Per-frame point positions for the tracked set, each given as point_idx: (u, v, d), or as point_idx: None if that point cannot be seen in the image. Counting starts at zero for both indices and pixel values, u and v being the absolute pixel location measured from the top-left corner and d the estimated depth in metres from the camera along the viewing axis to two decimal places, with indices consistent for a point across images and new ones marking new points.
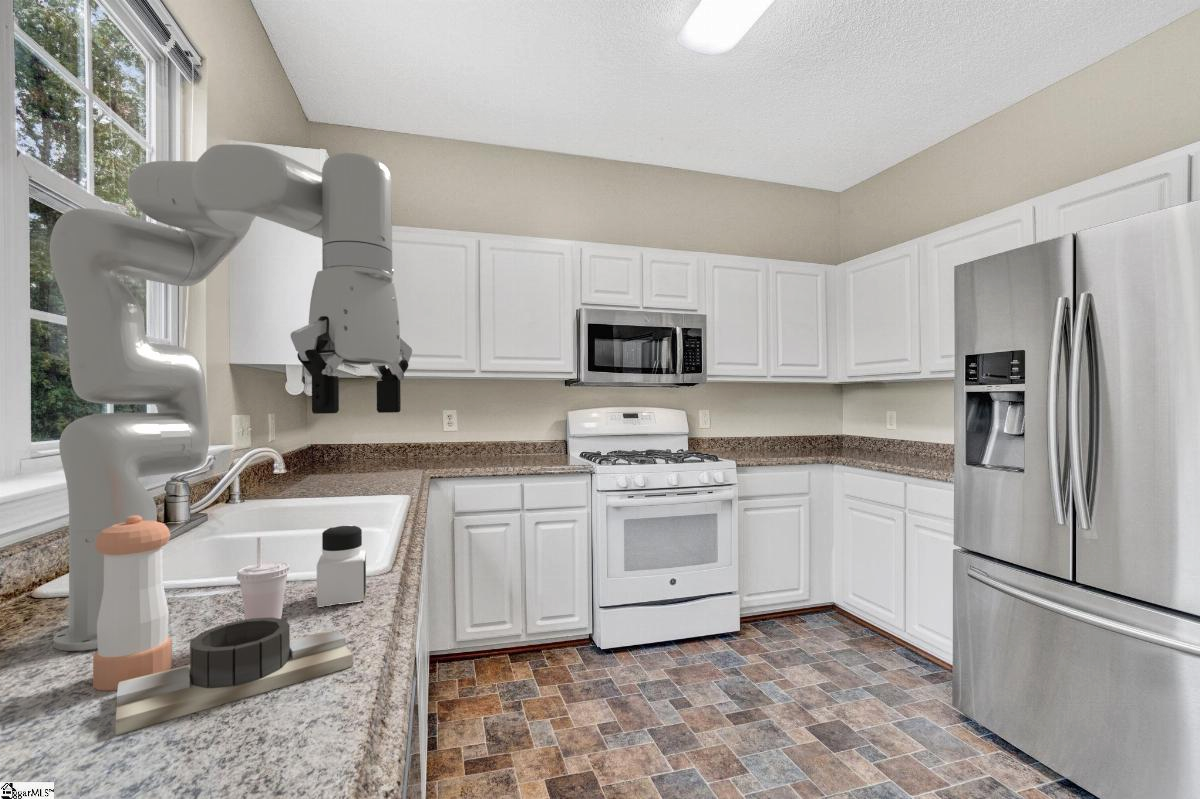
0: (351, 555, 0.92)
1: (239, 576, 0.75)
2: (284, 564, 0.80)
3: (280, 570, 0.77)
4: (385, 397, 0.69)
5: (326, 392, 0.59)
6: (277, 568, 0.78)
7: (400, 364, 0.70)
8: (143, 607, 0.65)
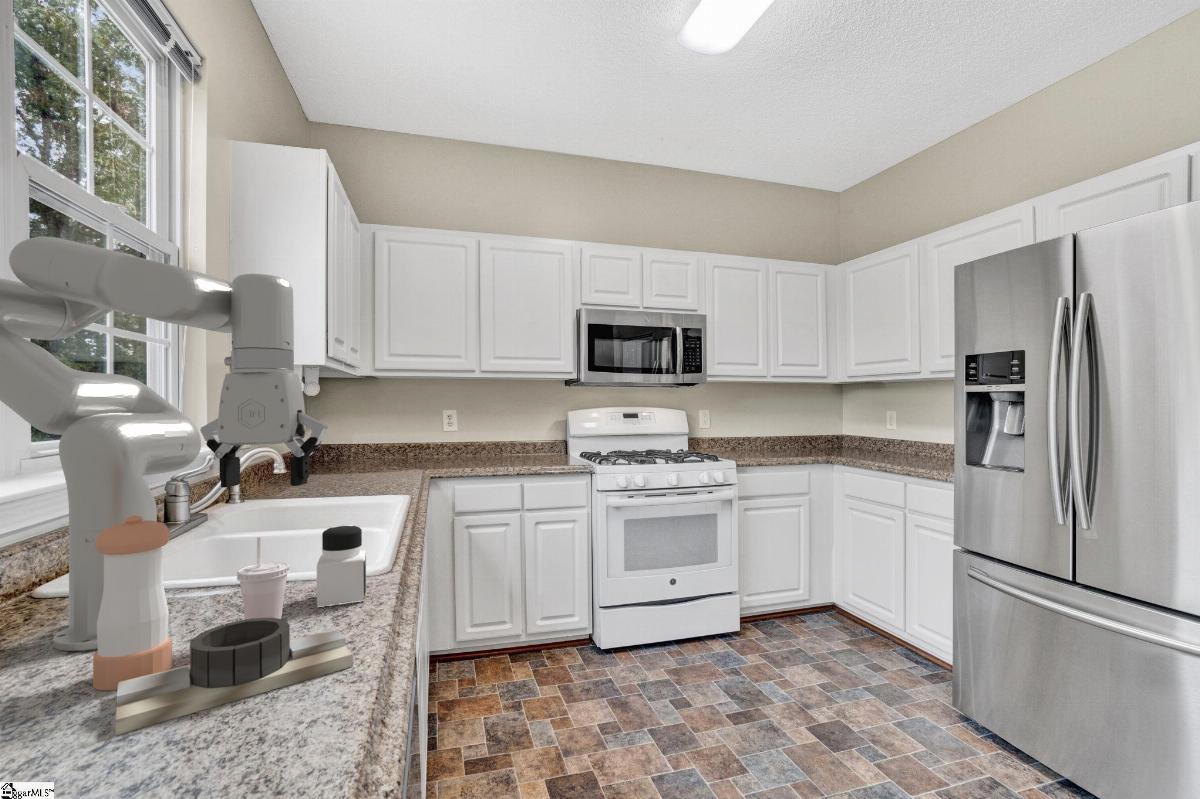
0: (351, 555, 0.92)
1: (239, 576, 0.75)
2: (284, 564, 0.80)
3: (280, 570, 0.77)
4: (233, 472, 0.78)
5: None
6: (277, 568, 0.78)
7: None
8: (143, 607, 0.65)
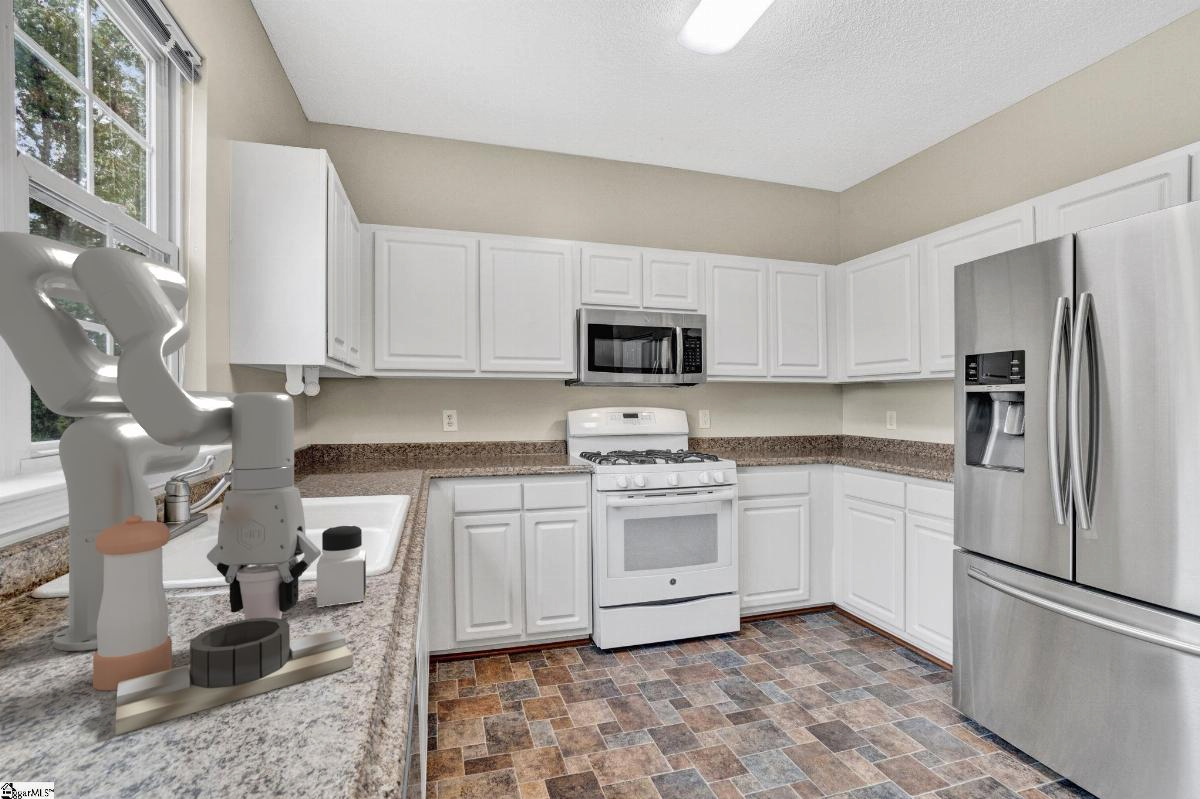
0: (351, 555, 0.92)
1: (238, 576, 0.75)
2: None
3: (279, 570, 0.77)
4: None
5: None
6: (276, 568, 0.78)
7: None
8: (143, 607, 0.65)
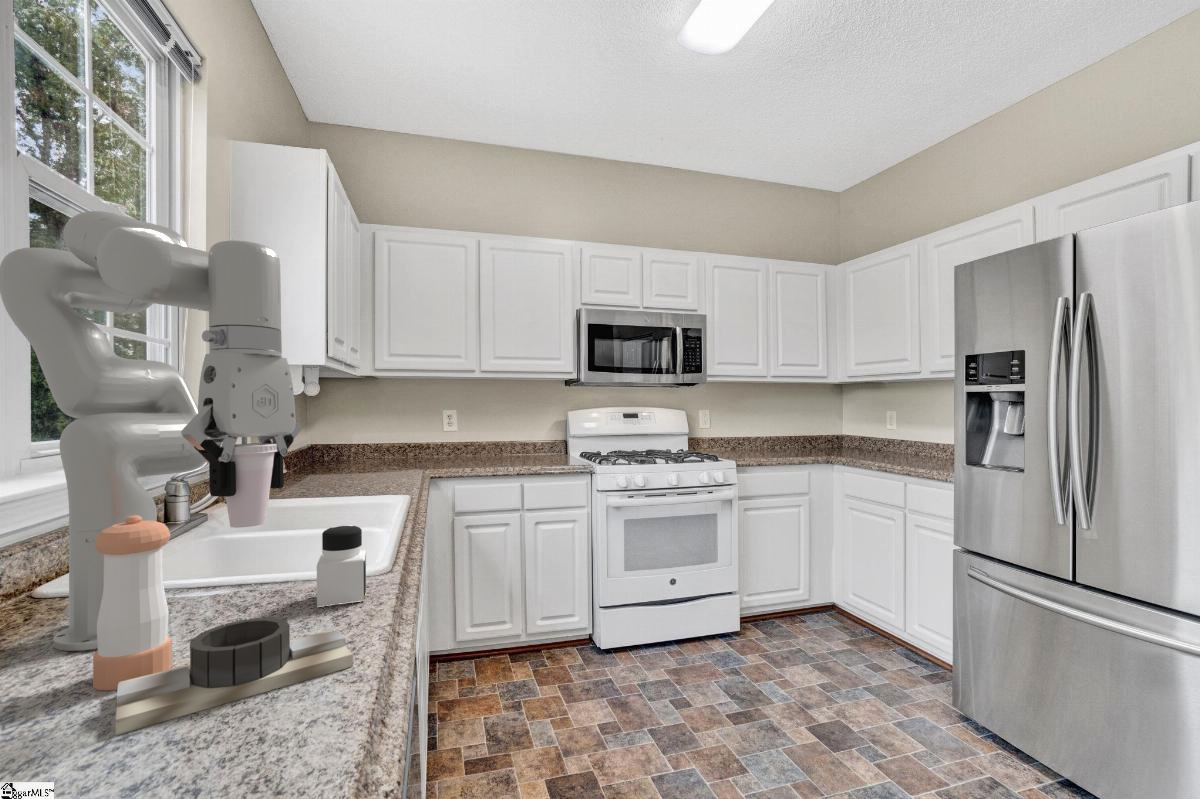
0: (351, 555, 0.92)
1: (250, 449, 0.65)
2: None
3: None
4: None
5: None
6: (262, 444, 0.70)
7: None
8: (143, 607, 0.65)
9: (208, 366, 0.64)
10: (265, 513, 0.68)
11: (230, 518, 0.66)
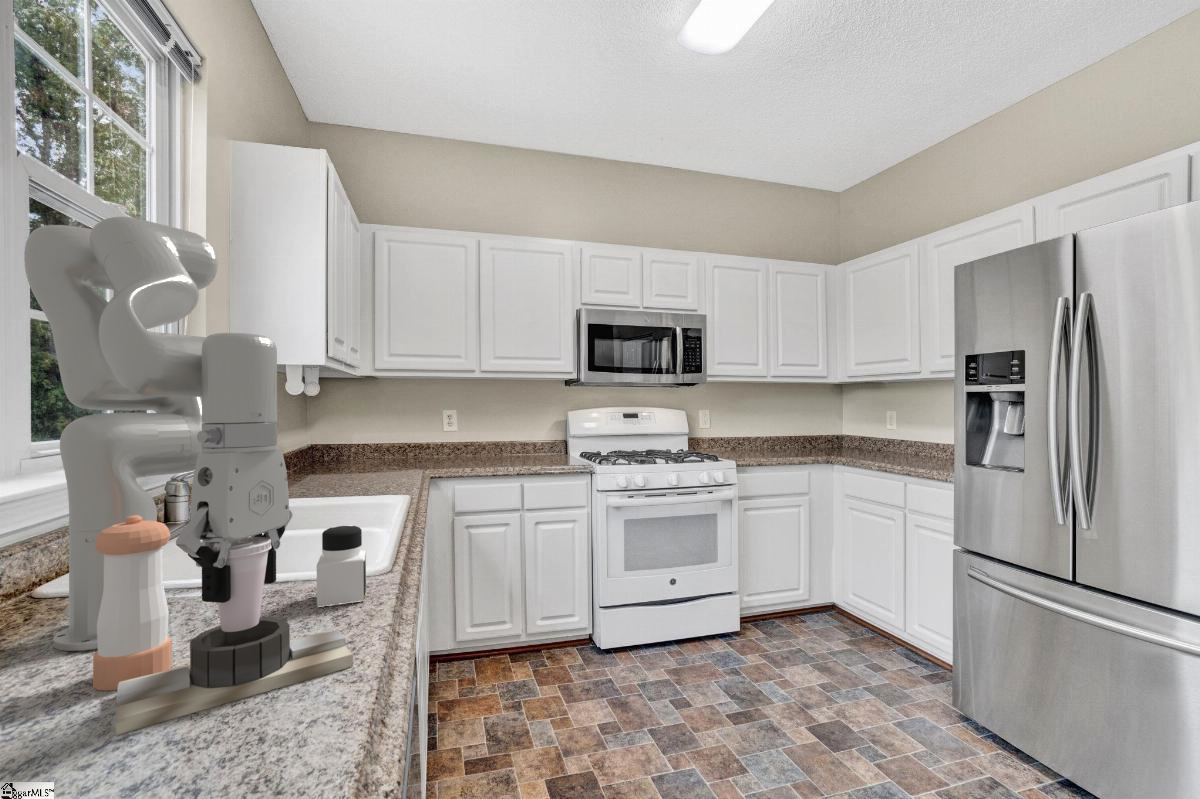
0: (351, 555, 0.92)
1: (246, 551, 0.63)
2: None
3: None
4: None
5: None
6: (254, 539, 0.67)
7: None
8: (143, 607, 0.65)
9: (203, 467, 0.61)
10: (259, 613, 0.66)
11: (222, 622, 0.63)
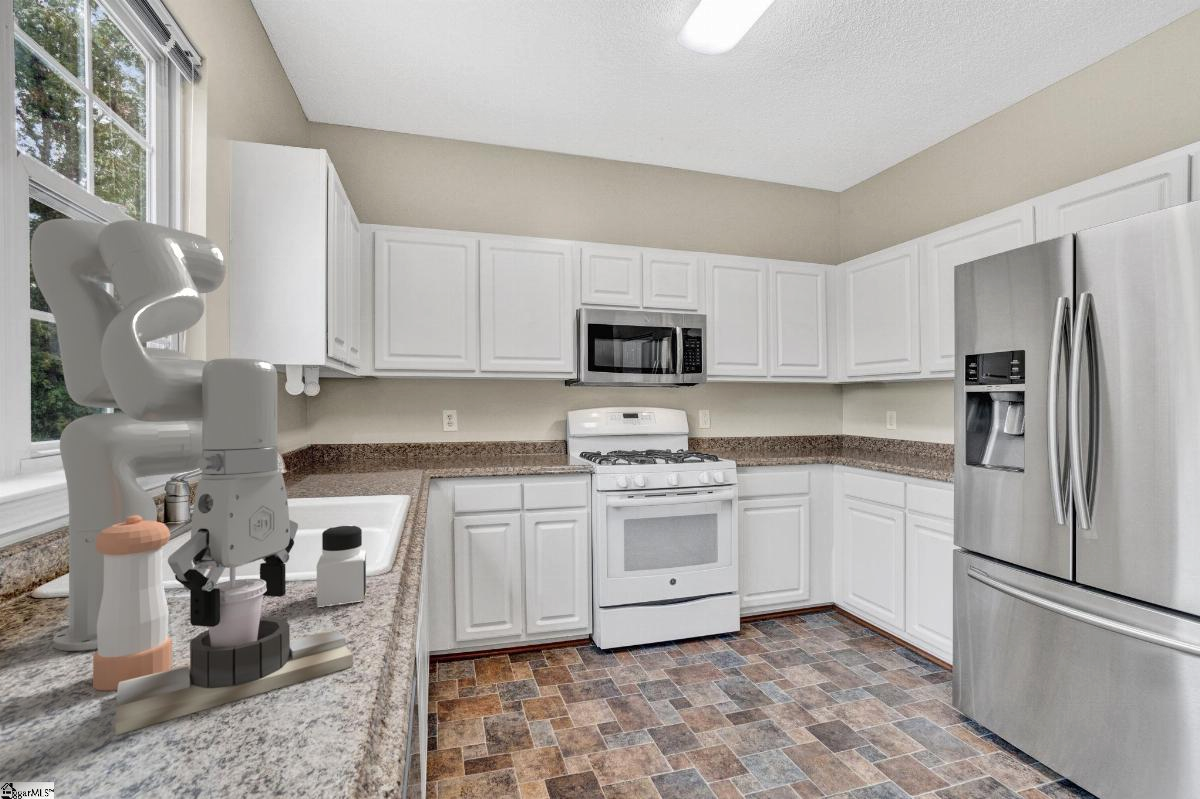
0: (351, 555, 0.92)
1: (240, 596, 0.62)
2: None
3: None
4: None
5: None
6: (249, 581, 0.66)
7: None
8: (143, 607, 0.65)
9: (203, 494, 0.61)
10: None
11: None
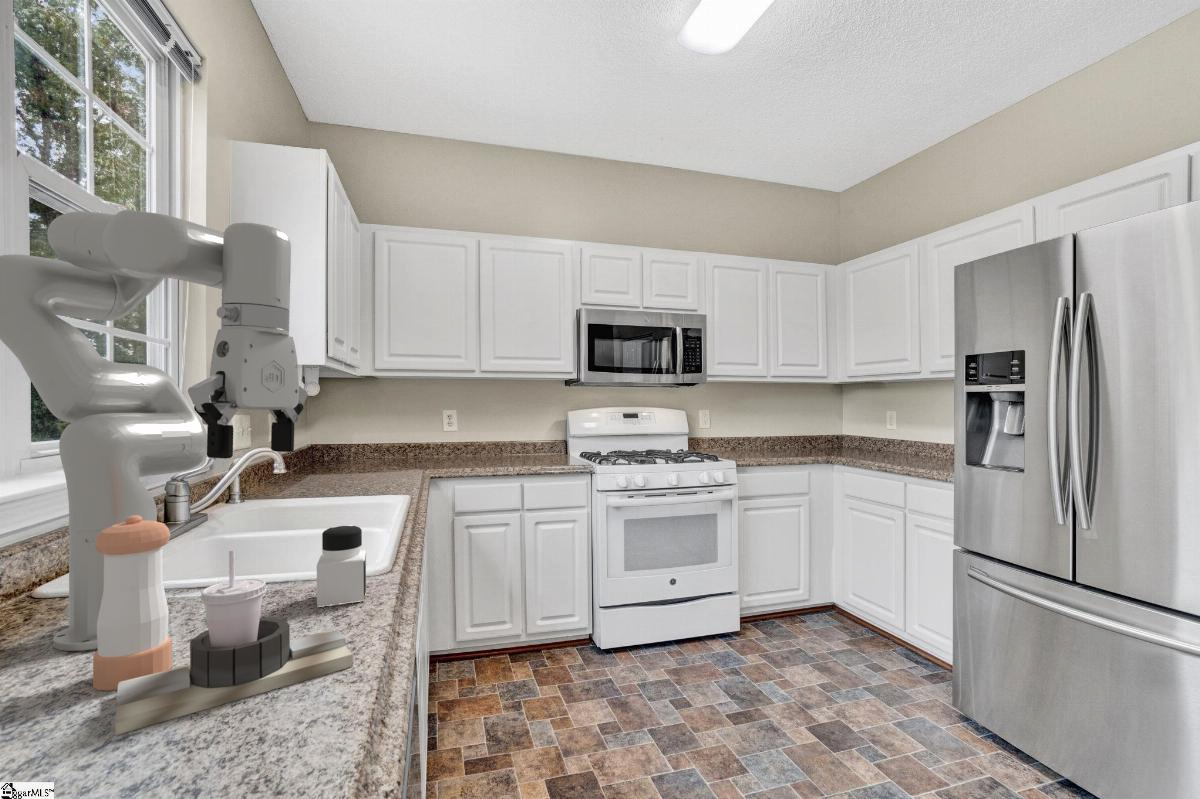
0: (351, 555, 0.92)
1: (240, 596, 0.62)
2: None
3: None
4: None
5: None
6: (249, 581, 0.66)
7: None
8: (143, 607, 0.65)
9: (221, 341, 0.68)
10: None
11: None
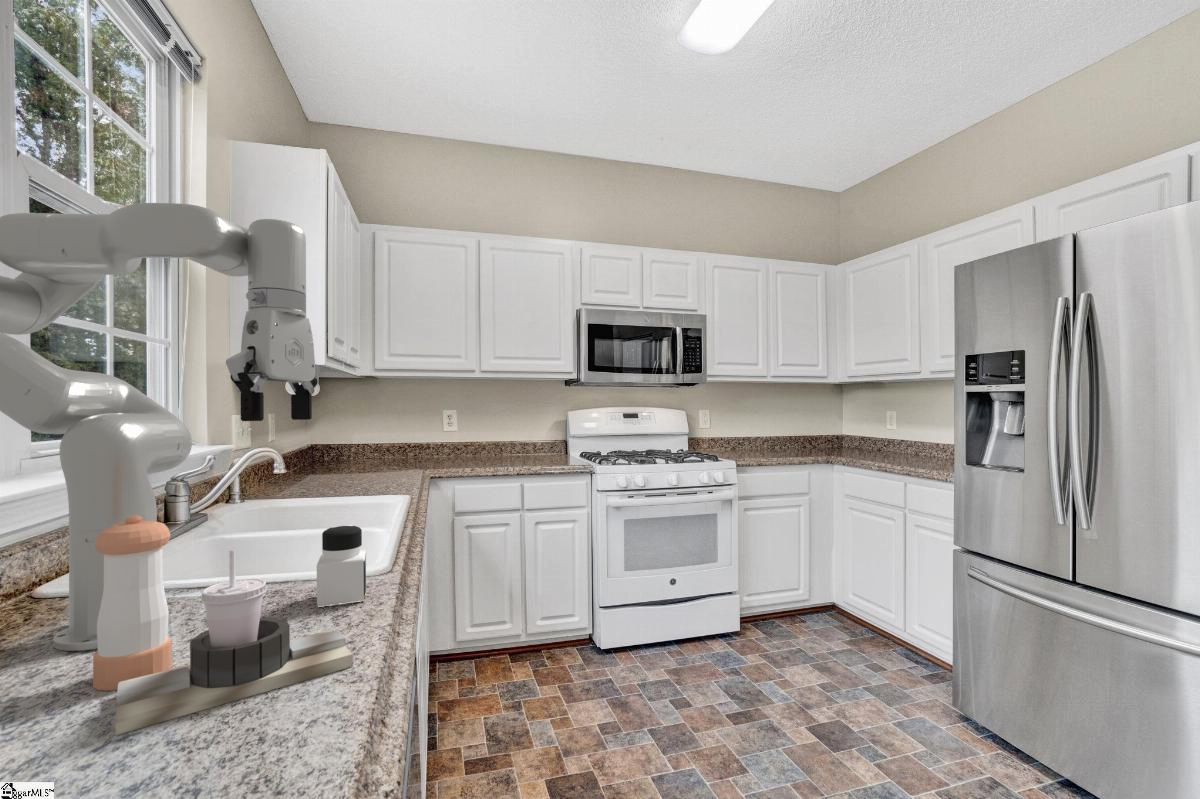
0: (351, 555, 0.92)
1: (240, 596, 0.62)
2: None
3: None
4: None
5: None
6: (249, 581, 0.66)
7: None
8: (143, 607, 0.65)
9: (250, 320, 0.78)
10: None
11: None
